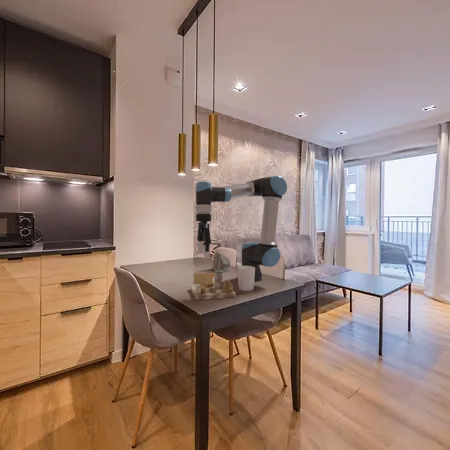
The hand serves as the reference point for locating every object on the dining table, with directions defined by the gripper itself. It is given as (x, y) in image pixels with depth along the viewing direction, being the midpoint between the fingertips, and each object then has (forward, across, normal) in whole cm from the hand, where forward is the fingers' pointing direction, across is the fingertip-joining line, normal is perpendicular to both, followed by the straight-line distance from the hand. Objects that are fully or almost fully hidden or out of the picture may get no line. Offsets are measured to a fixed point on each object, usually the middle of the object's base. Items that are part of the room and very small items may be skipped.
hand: (203, 255), depth 127 cm
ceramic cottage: (+21, -56, +27) cm, 66 cm away
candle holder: (+21, -6, +26) cm, 34 cm away
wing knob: (+18, +1, 0) cm, 18 cm away
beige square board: (+21, -4, +6) cm, 22 cm away
